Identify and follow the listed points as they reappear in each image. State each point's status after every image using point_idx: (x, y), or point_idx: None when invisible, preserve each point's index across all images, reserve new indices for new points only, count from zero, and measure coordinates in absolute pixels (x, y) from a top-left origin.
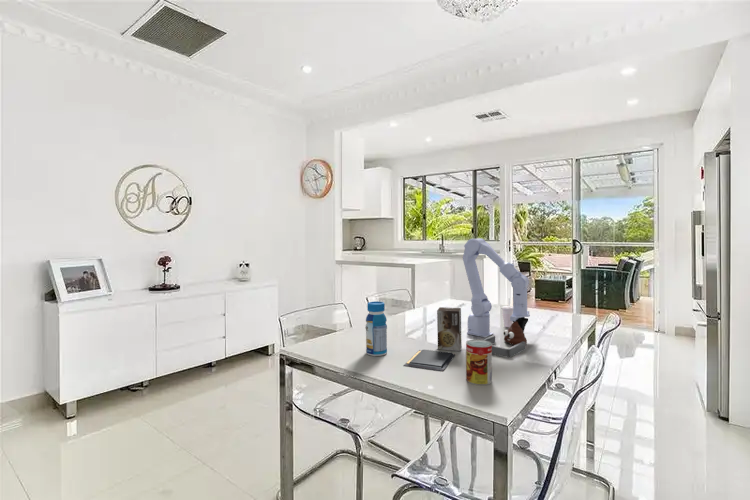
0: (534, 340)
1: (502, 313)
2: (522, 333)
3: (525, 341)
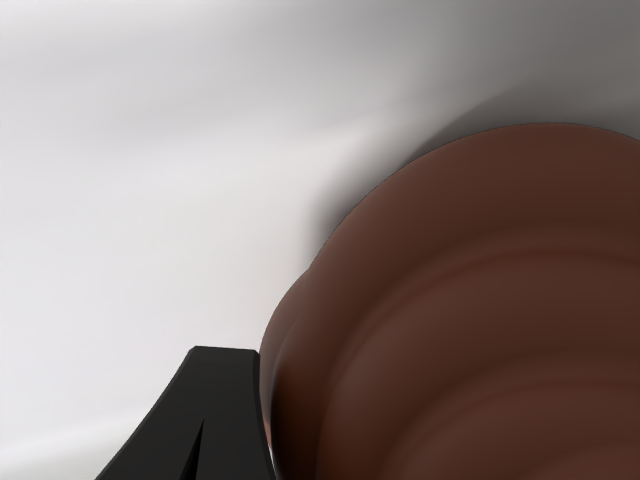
0: (5, 84)
1: None
2: (589, 357)
3: (615, 148)
